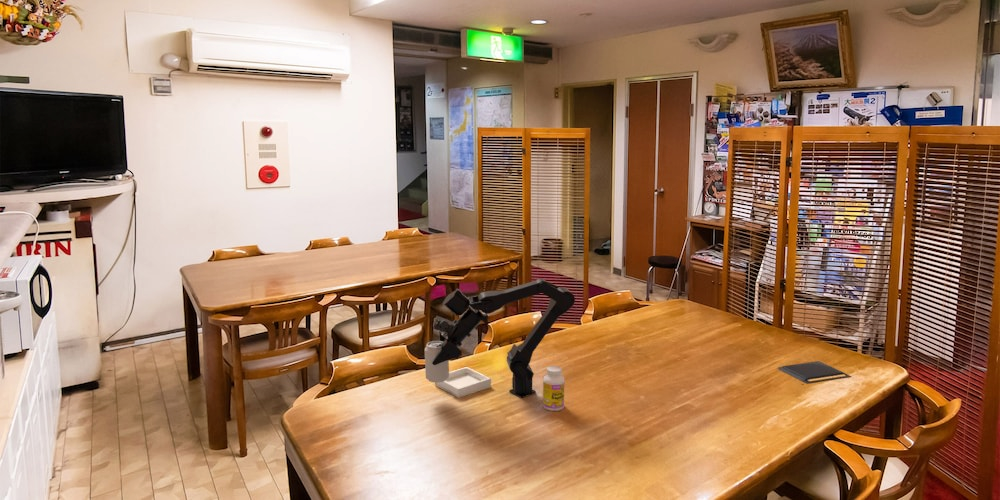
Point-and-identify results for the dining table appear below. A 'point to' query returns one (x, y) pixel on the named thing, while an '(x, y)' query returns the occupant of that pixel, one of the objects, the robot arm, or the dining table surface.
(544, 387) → the supplement bottle
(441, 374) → the can
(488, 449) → the dining table surface
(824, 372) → the dark grey book
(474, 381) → the tray
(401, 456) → the dining table surface
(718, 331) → the dining table surface
